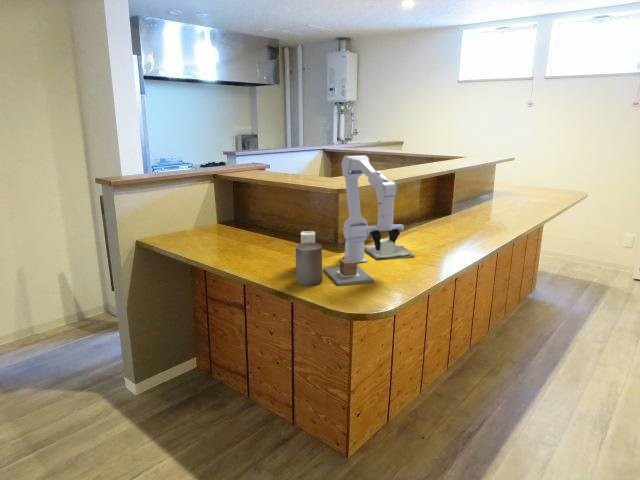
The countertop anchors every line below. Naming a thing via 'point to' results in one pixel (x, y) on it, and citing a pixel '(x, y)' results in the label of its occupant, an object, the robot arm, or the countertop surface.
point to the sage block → (385, 247)
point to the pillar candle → (308, 264)
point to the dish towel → (397, 254)
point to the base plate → (346, 280)
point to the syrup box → (307, 237)
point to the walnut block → (348, 267)
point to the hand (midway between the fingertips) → (384, 249)
